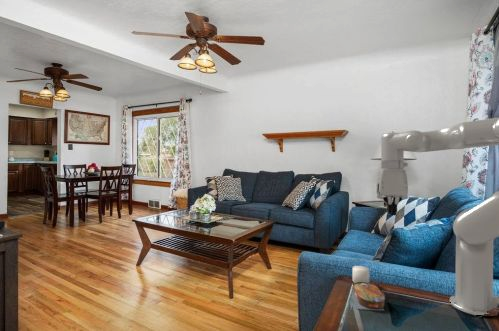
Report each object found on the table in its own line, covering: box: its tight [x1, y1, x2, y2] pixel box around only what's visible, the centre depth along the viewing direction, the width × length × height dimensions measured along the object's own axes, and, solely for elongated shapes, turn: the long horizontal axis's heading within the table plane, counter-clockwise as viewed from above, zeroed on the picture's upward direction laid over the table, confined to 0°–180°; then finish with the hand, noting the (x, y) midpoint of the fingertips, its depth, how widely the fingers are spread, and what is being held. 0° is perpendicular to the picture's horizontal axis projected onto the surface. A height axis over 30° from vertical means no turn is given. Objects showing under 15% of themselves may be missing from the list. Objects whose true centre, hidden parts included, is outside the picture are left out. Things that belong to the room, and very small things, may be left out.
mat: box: [350, 292, 385, 312], centre depth 99 cm, size 8×14×1 cm, turn 174°
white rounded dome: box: [351, 265, 370, 283], centre depth 111 cm, size 6×6×6 cm
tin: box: [352, 282, 386, 309], centre depth 99 cm, size 15×3×8 cm
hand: (392, 214), depth 109 cm, fingers closed
